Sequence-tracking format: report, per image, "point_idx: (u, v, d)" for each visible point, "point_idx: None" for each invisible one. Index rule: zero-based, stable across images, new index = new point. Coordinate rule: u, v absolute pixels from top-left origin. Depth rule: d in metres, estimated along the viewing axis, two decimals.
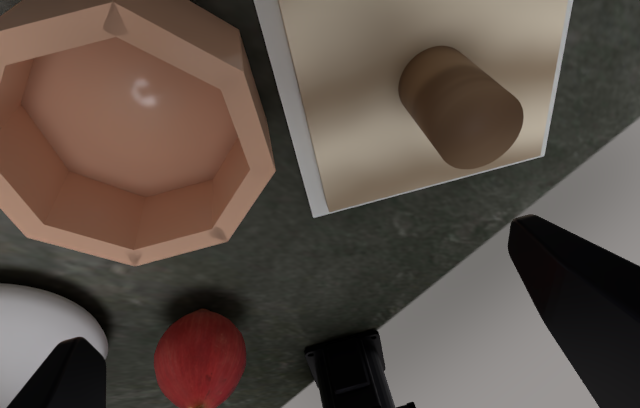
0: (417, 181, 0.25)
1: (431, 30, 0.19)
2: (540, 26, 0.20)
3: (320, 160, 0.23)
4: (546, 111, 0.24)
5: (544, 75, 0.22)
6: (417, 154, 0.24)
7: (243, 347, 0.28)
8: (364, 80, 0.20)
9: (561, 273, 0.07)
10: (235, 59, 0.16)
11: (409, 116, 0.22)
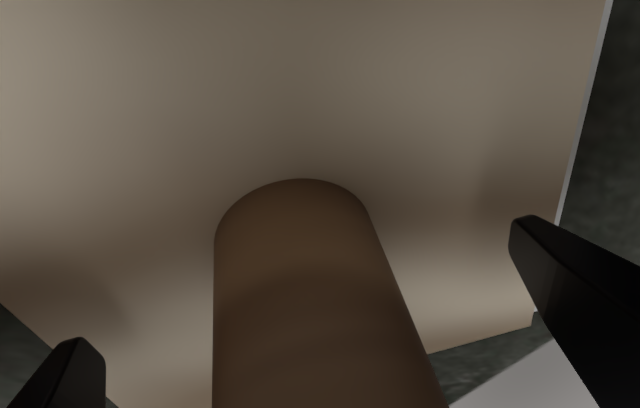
0: None
1: (261, 151, 0.08)
2: (524, 130, 0.09)
3: None
4: None
5: (535, 214, 0.11)
6: None
7: None
8: (128, 251, 0.09)
9: (561, 273, 0.07)
10: None
11: None
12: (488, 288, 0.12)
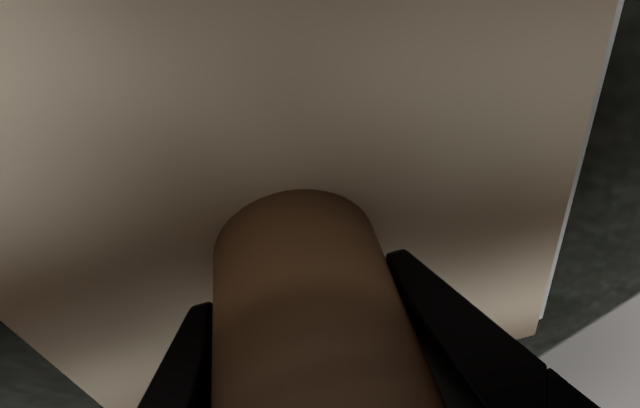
0: None
1: (262, 161, 0.08)
2: (531, 139, 0.09)
3: (88, 386, 0.11)
4: (545, 276, 0.12)
5: (541, 223, 0.10)
6: None
7: None
8: (125, 263, 0.09)
9: (412, 314, 0.07)
10: None
11: None
12: (492, 297, 0.12)
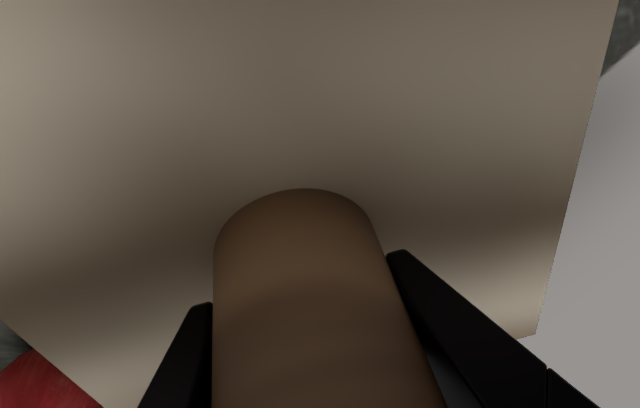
0: None
1: (262, 161, 0.08)
2: (531, 138, 0.09)
3: (88, 385, 0.11)
4: (546, 276, 0.12)
5: (542, 222, 0.10)
6: None
7: None
8: (125, 262, 0.09)
9: (412, 314, 0.07)
10: None
11: None
12: (493, 297, 0.12)
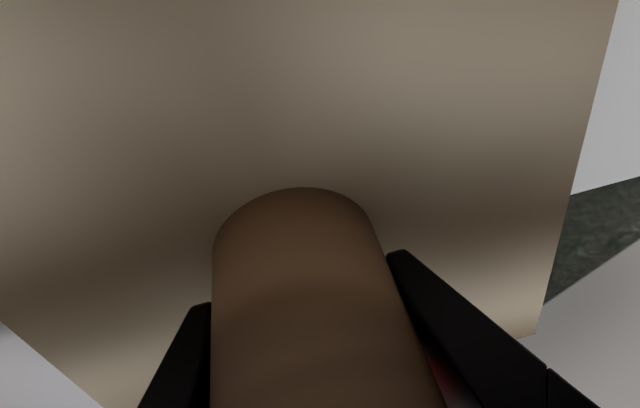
0: None
1: (261, 159, 0.08)
2: (532, 137, 0.09)
3: (86, 385, 0.11)
4: (546, 275, 0.12)
5: (542, 222, 0.10)
6: None
7: None
8: (124, 261, 0.09)
9: (412, 314, 0.07)
10: None
11: None
12: (492, 297, 0.12)
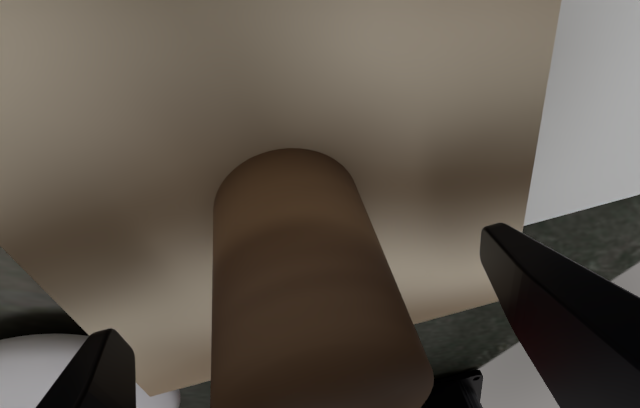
0: None
1: (256, 121, 0.09)
2: (496, 105, 0.10)
3: None
4: None
5: (510, 185, 0.12)
6: None
7: None
8: (135, 215, 0.10)
9: (526, 283, 0.07)
10: None
11: None
12: (469, 259, 0.13)
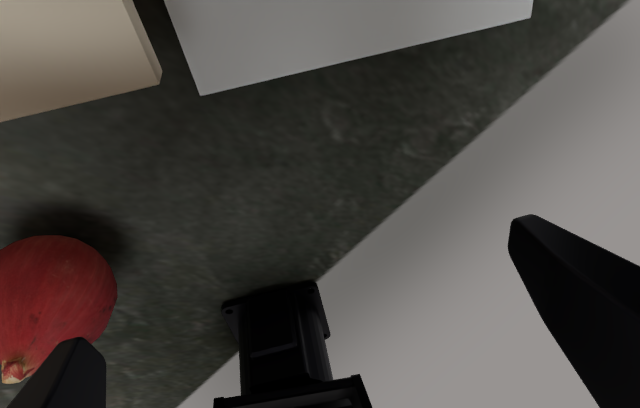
0: None
1: None
2: None
3: None
4: None
5: None
6: None
7: (106, 284, 0.20)
8: None
9: (561, 273, 0.07)
10: None
11: None
12: None
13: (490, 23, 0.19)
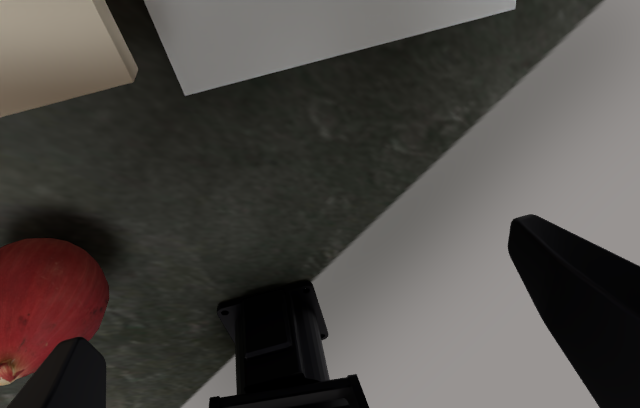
0: None
1: None
2: None
3: None
4: None
5: None
6: None
7: (97, 285, 0.20)
8: None
9: (561, 273, 0.07)
10: None
11: None
12: None
13: (474, 15, 0.19)
